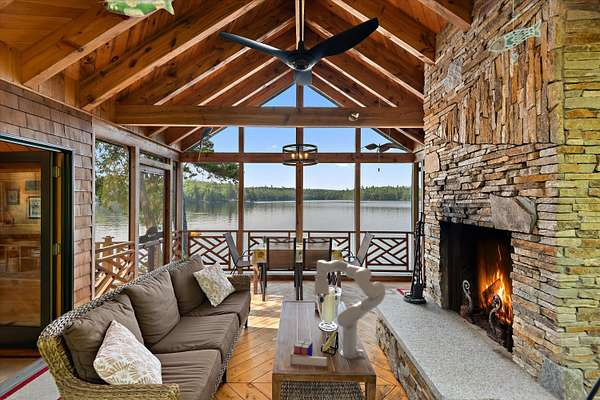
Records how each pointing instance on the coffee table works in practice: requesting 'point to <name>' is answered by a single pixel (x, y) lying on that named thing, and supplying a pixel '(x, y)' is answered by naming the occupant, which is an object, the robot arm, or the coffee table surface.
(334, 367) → the coffee table surface
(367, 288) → the robot arm
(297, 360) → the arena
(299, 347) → the puzzle cube
